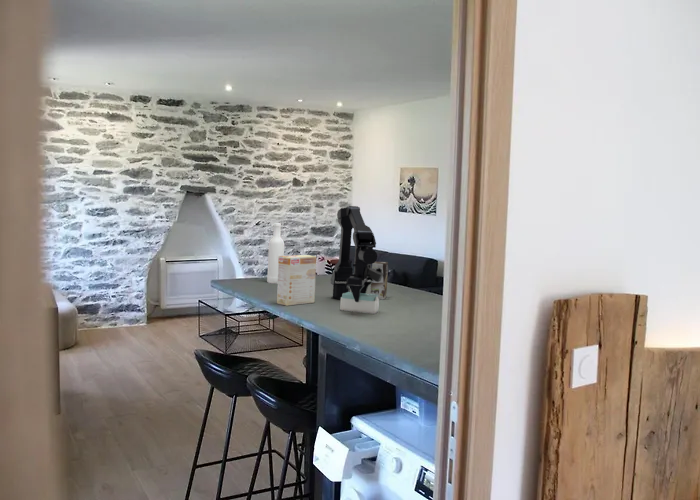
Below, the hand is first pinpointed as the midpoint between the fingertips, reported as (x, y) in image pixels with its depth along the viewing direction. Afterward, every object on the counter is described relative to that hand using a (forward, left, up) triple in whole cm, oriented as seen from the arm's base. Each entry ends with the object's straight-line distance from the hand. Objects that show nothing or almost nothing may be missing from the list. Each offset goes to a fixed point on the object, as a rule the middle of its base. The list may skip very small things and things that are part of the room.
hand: (359, 300), depth 242 cm
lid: (0, 0, +1) cm, 1 cm away
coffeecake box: (-28, +2, -4) cm, 28 cm away
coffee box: (-2, +36, -4) cm, 36 cm away
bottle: (-60, +51, -4) cm, 79 cm away
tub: (0, 0, -4) cm, 4 cm away
